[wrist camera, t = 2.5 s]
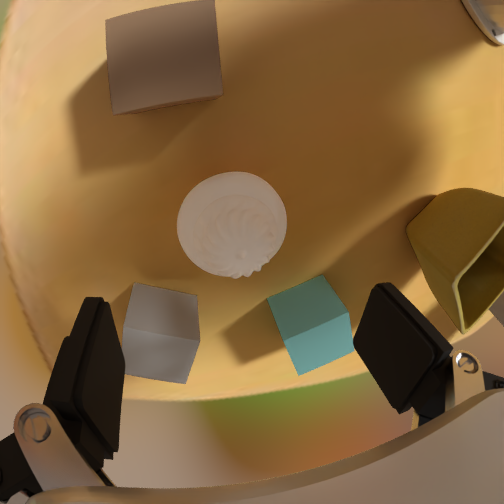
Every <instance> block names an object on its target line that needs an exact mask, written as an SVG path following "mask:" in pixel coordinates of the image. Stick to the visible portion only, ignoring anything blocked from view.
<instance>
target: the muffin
mask: <svg viewBox="0 0 504 504" xmlns="http://www.w3.org/2000/svg"><path fill="white" fill-rule="evenodd" d="M286 230H287V215H286V210H285V207H284V204H283V202H282V200H281V198H280V196H279V195H278V194H277V192H276V191H275V190H274V189H273V188H272V186H271V185H269V184H268V183H267V182H266V181H265V180H263V179H262V178H260V177H258V176H256V175H254V174H251V173H247V172H239V171H234V172H226V173H221V174H217V175H214V176H211V177H209V178H207V179H205V180H203V181H202V182H200V183H199V184H197V185H196V186H195V187H194V188H193V189H192V190H191V191H190V192H189V193H188V194H187V196H186V197H185V199H184V201H183V203H182V205H181V207H180V210H179V213H178V218H177V234H178V238H179V242H180V244H181V246H182V248H183V250H184V252H185V253H186V255H187V256H188V257H189V259H190V260H191V261H192V262H193V263H194V264H195V265H197V266H198V267H199V268H201V269H202V270H204V271H206V272H208V273H211V274H214V275H218V276H225V277H232V278H234V279H237V278H239V277H241V276H242V275H243V276H245V277H249V276H250V275H251V274H252V272H253V271H260V270H261V266H263V265H264V264H265V263H268V262H269V260H270V259H271V258H272V257H273V256H274V255H275V254H276V253H277V252H278V250H279V249H280V247H281V245H282V243H283V241H284V238H285V235H286Z"/></svg>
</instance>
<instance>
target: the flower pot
mask: <svg viewBox="0 0 504 504" xmlns="http://www.w3.org/2000/svg"><path fill="white" fill-rule="evenodd" d="M406 232H407V236H408V238H409V241H410V243H411V245H412V247H413V249H414V252H415V254H416V256H417V258H418V261H419V263H420V266H421V268H422V271H423V274H424V276H425V279H426V281H427V283H428V285H429V287H430V289H431V291H432V293H433V294H434V296H435V298H436V299H437V301H438V302H439V303H440V305H441V306H442V307H443V309H444V310H445V311H446V313H447V314H448V316H449V317H450V318H451V320H452V321H453V322H454V324H455V325H456V327H457V328H458V329H459V331H460V332H461V334H465V333H467V332H468V331H469V330H470V329H471V328H472V327H473V326H474V325H475V324H476V322H477V321H478V320H479V319H480V318H481V317H482V316H483V315H484V314H485V313H486V311H487V310H488V309H489V308H490V307H491V306H492V304H493V303H494V302H495V301H496V300H497V298H498V297H499V296H500V295H501V294H502V292H503V291H504V197H501V196H498V195H495V194H492V193H489V192H485V191H482V190H478V189H473V188H459V189H453V190H449V191H446V192H444V193H441V194H439V195H437V196H436V197H435V198H434V199H433V200H432V201H431V202H430V203H429V204H428V205H427V206H426V207H425V208H424V209H423V210H422V211H421V212H420V213H419V214H418V215H417V216H416V217H415V218H414V219H413V220H412V221H411V222H410V223H409V224H408V225H407V227H406Z"/></svg>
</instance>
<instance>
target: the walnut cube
mask: <svg viewBox="0 0 504 504" xmlns="http://www.w3.org/2000/svg"><path fill="white" fill-rule="evenodd" d="M105 21H106V50H107V65H108V77H109V87H110V96H111V104H112V112H113V115H122V114H135V113H140V112H144V111H149V110H153V109H158V108H163V107H168V106H174V105H180V104H186V103H192V102H199V101H206V100H214V99H217V98H218V97H220V96H222V95H223V87H222V77H221V66H220V56H219V45H218V34H217V23H216V11H215V0H199V1H190V2H183V3H176V4H170V5H164V6H159V7H154V8H149V9H144V10H140V11H136V12H132V13H128V14H124V15H121V16H117V17H114V18H110V19H107V20H105Z"/></svg>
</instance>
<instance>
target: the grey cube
mask: <svg viewBox="0 0 504 504" xmlns="http://www.w3.org/2000/svg"><path fill="white" fill-rule="evenodd" d="M199 343H200V331H199V318H198V302H197V295H192V294H187V293H182V292H177V291H173V290H168V289H163V288H158V287H154V286H149V285H145V284H140V283H136V282H134V285H133V289H132V292H131V296H130V300H129V304H128V309H127V313H126V317H125V322H124V326H123V338H122V352H123V355H124V358H125V374H127V375H132V376H137V377H143V378H148V379H154V380H160V381H167V382H174V383H181V384H186V381H187V378H188V375H189V372H190V370H191V367H192V364H193V361H194V358H195V355H196V352H197V349H198V346H199Z"/></svg>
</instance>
